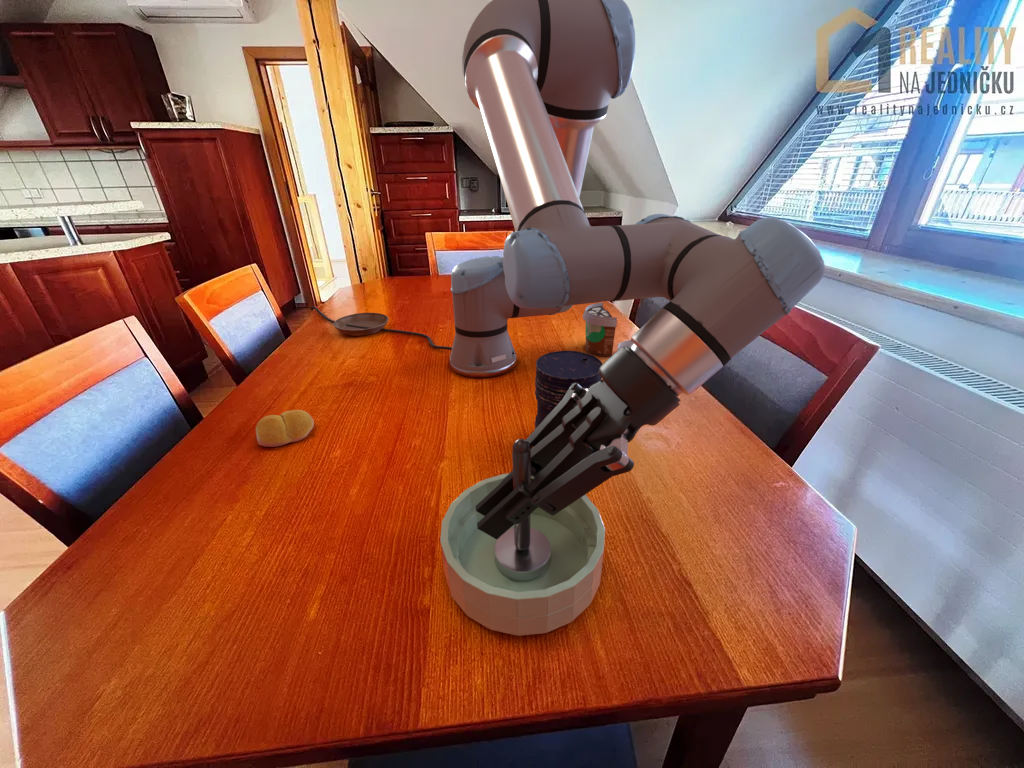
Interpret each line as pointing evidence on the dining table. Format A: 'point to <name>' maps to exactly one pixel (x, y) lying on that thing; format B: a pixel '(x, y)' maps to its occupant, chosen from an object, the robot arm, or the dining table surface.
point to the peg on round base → (522, 530)
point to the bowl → (517, 601)
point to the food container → (599, 330)
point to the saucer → (361, 323)
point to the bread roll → (283, 428)
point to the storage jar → (562, 378)
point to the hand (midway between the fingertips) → (486, 522)
